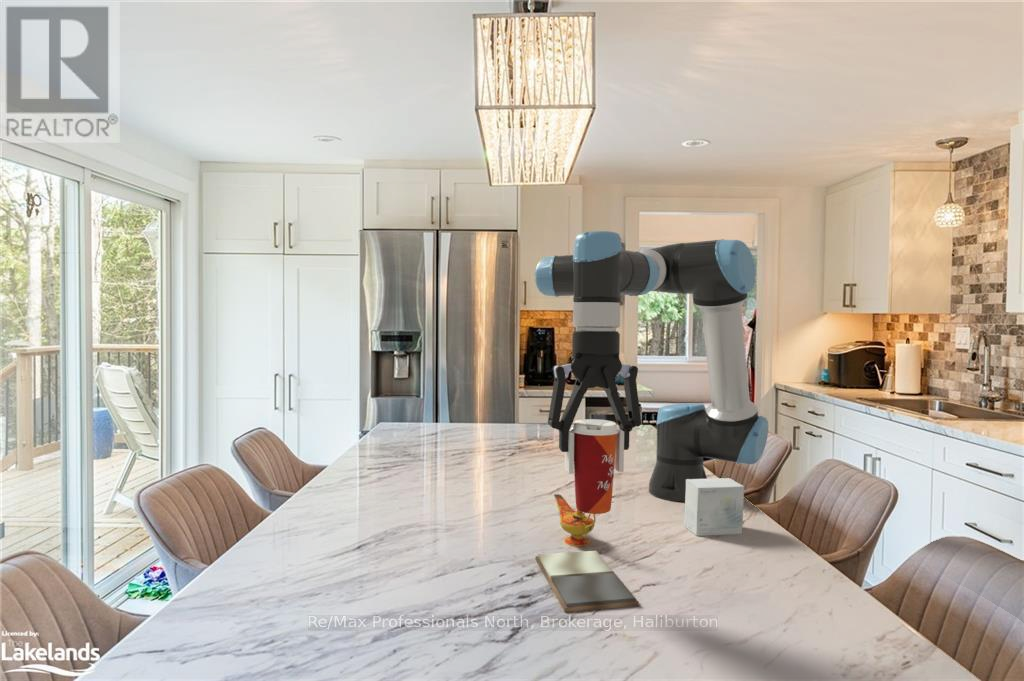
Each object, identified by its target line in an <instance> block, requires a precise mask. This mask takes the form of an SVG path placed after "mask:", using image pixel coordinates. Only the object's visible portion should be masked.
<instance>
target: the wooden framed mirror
mask: <svg viewBox="0 0 1024 681" xmlns="http://www.w3.org/2000/svg"><path fill="white" fill-rule="evenodd" d="M535 561H536V563H537V564H538V566H539V568H540V570H541V573H543V575H544V577H545V579H546V581H547V583H548V585H549V587H550V588H551V590H552V592H553V593H554V596H555V597H556V599H557V600H558V603H559V605H560V606H561V608H562V610H563V611H564V613H570V612H580V611H581V612H582V611H591V610H592V611H593V610H595V611H596V610H603V609H605V610H606V609H616V608H617V609H618V608H619V609H620V608H628V607H629V608H630V607H638V606H639V603H640V602H639V600H637V598H636V597H635V595H633V593H632V592H631V591H630V589H628V587H627V586H626V585H625V584H624V582H623V581H622V580H621V579H620V577H618V575H617V574H616V573H615V572H614V571H613V569H612V568H611V567H610V565H608V563H607V562H606V561H605V559H604V558H603V557H602V555H600V554H599V552H598V551H597V550H586V551H585V550H583V551H572V552H571V551H570V552H569V551H568V552H555V553H553V552H552V553H541V554H537V555H536V556H535Z"/></svg>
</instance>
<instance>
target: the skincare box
mask: <svg viewBox="0 0 1024 681" xmlns="http://www.w3.org/2000/svg"><path fill="white" fill-rule="evenodd" d="M744 496H745V486H744V485H743V484H741V483H739V482H738V481H735V480H733V479H732V478H730V477H722V478H720V477H719V478H707V479H686V495H685V502H684V519H683V520H684V522H683V526H684V527H685V528H687V529H688V530H689V531H690V532H691V533H692V534H694V535H695V536H696V537H700V536H701V537H702V536H703V537H704V536H725V535H730V536H731V535H742V534H743V524H744V523H743V522H744V520H743V518H744Z"/></svg>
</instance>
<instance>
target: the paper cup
mask: <svg viewBox="0 0 1024 681" xmlns="http://www.w3.org/2000/svg"><path fill="white" fill-rule="evenodd" d="M617 428H618V425H617V422H615V421H612V420H608V419H607V420H606V419H597V418H596V419H595V418H588V419H578V420H573V423H572V426H571V428H570V430H571V431H572V432H574V491H575V492H574V493H575V507H576V508H575V509H576V511H577V510H579V511H581V512H583V513H585V514H591V515H593V514H595V515H602V514H607V513H609V512H610V511H611V508H612V500H613V491H614V490H613V489H614V488H613V487H614V477H615V476H614V475H615V469H614V464H615V451H616V438H617V433H619V431H618V429H619V428H618V429H617Z"/></svg>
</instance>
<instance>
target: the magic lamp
mask: <svg viewBox="0 0 1024 681" xmlns="http://www.w3.org/2000/svg"><path fill="white" fill-rule="evenodd" d="M553 496H554V499H555V502H556V506H557V509H558V514H559V520H560V521H559V524H560V526H561V528H562V529H563V531H565V532H566V533H568V534H570V536H567V537H566V538H565V539H564V543H565V544H567V545H568V546H571V547H585V546H588V545H590V544H591V543H590V542H591V541H590V540H589V537H590V534H589V533H591V532H592V531H593V530H594V527H595V524H596V514H590V513H588V515H585V514H586V513H584V512H581V511H579V510H577V509H576V510H574V509H573V508H572V507H571V506H570V504H569V503H568V502H567V500H565V497H563V496H562V494H558V493H557V494H553ZM591 515H593V516H592V517H593V518H591ZM584 535H585V536H584Z"/></svg>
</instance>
